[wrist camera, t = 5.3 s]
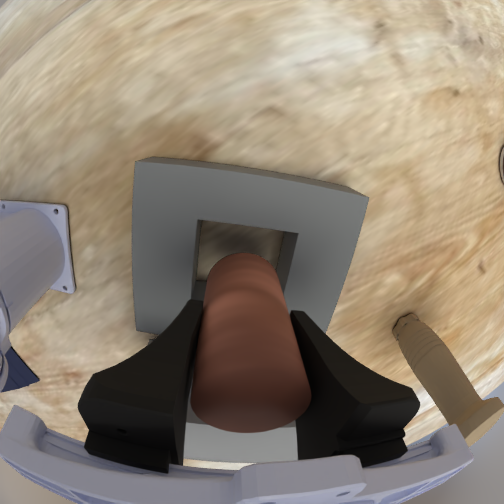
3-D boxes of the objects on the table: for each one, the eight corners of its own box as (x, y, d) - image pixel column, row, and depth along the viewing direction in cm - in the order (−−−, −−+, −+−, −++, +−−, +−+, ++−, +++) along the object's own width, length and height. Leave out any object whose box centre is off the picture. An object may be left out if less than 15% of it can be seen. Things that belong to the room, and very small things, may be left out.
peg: (205, 312, 16) (192, 430, 9) (208, 249, 14) (187, 362, 7) (272, 316, 16) (296, 431, 9) (283, 255, 15) (326, 366, 8)
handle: (424, 292, 23) (514, 396, 10) (420, 336, 26) (486, 434, 12) (384, 310, 24) (466, 434, 10) (384, 353, 26) (443, 463, 13)
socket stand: (150, 347, 24) (122, 446, 14) (152, 156, 17) (62, 186, 7) (295, 361, 25) (319, 459, 15) (348, 186, 19) (446, 242, 9)
